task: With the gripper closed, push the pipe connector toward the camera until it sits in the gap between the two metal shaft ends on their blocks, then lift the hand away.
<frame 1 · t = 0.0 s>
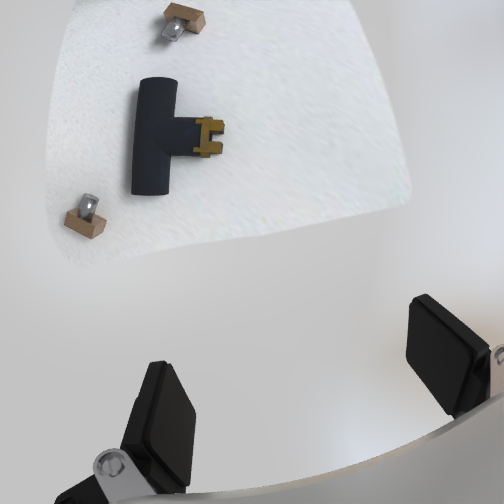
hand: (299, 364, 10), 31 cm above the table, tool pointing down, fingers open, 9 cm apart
pipe connector: (181, 138, 36), on the table
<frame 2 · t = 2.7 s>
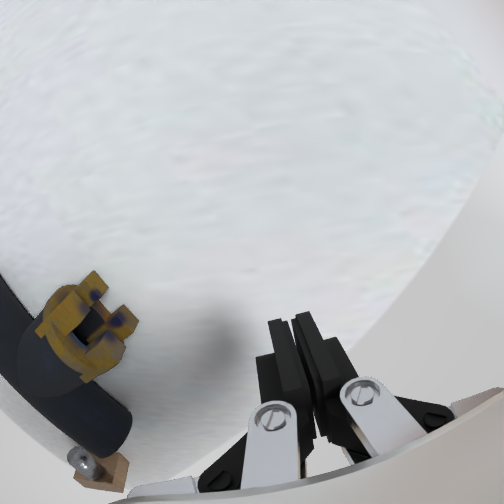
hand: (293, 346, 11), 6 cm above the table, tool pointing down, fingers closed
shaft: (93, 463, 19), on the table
pipe connector: (72, 331, 17), on the table
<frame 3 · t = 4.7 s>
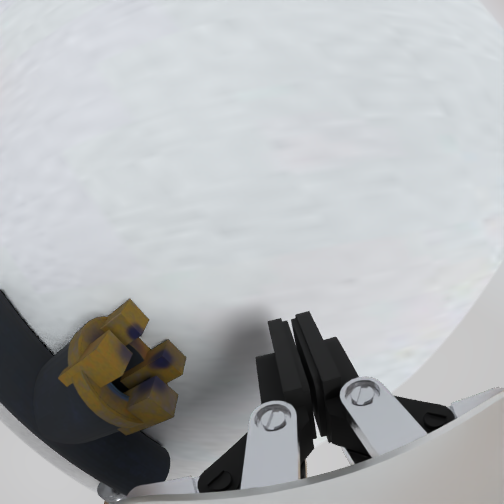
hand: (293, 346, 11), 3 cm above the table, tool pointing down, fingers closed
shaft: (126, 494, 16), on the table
pipe connector: (97, 364, 15), on the table
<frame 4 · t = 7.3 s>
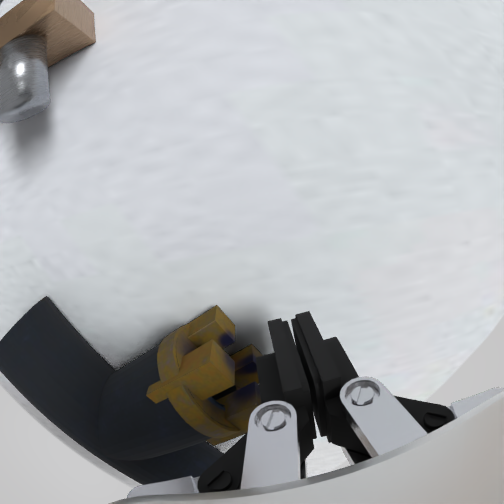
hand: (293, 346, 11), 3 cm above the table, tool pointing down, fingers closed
pipe connector: (161, 373, 15), on the table
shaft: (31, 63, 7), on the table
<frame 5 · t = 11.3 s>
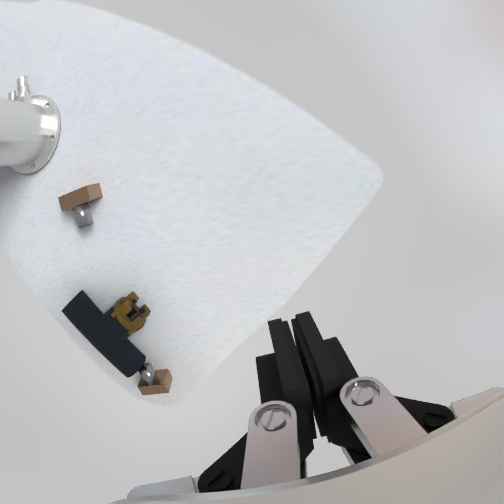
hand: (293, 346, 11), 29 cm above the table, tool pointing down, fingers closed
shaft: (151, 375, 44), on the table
pipe connector: (120, 317, 43), on the table
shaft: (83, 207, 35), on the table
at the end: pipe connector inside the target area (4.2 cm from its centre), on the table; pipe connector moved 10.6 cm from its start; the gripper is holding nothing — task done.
